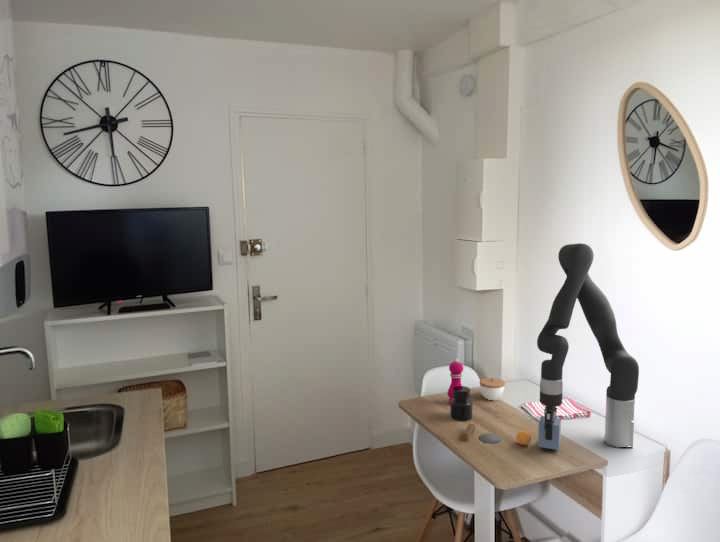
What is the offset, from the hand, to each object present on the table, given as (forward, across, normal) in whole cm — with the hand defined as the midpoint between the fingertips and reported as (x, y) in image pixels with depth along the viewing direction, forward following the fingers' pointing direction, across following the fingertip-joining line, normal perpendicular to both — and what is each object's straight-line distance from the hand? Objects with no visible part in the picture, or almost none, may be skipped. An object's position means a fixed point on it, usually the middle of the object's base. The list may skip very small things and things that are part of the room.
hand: (549, 435), depth 197 cm
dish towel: (+6, +36, +2) cm, 37 cm away
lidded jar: (+5, +42, +29) cm, 51 cm away
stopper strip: (+5, 0, +29) cm, 29 cm away
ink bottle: (+5, +16, +36) cm, 40 cm away
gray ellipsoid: (+5, 0, +21) cm, 21 cm away
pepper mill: (+5, +30, +42) cm, 52 cm away
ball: (+2, 0, +9) cm, 9 cm away
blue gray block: (+3, 0, 0) cm, 3 cm away
